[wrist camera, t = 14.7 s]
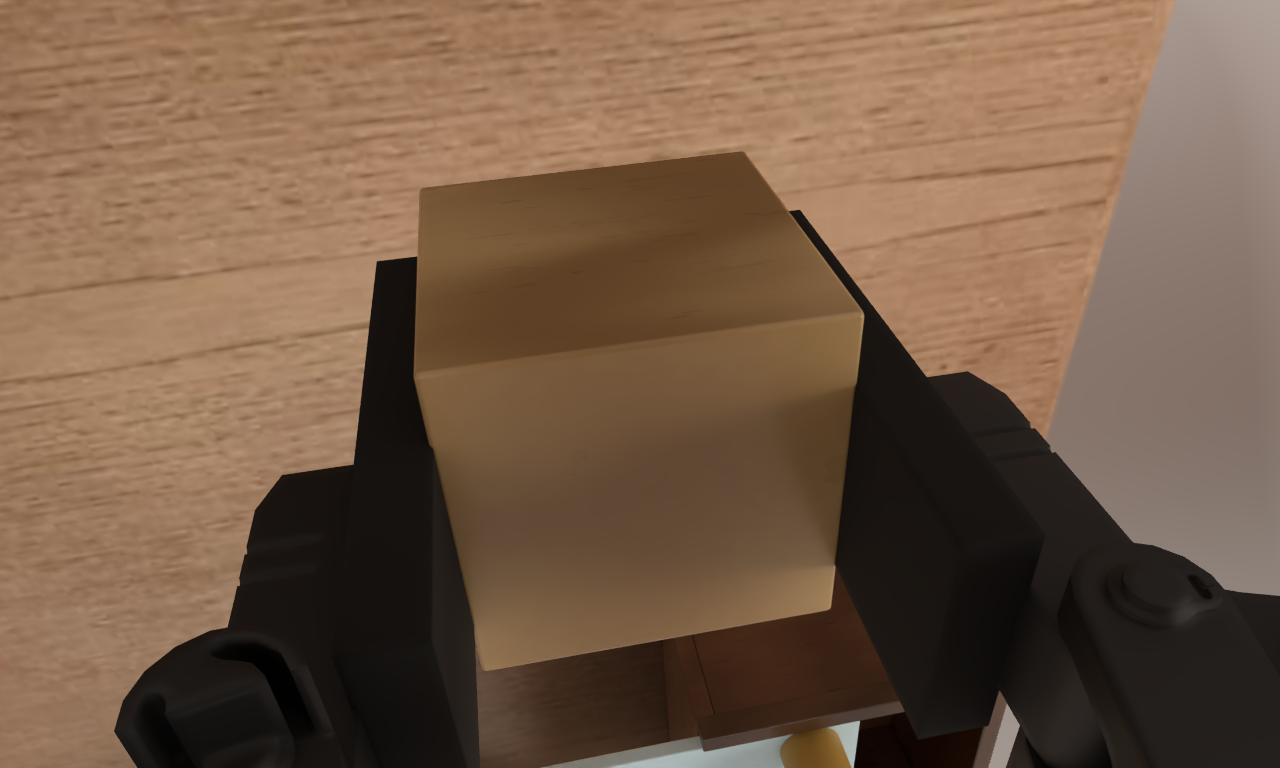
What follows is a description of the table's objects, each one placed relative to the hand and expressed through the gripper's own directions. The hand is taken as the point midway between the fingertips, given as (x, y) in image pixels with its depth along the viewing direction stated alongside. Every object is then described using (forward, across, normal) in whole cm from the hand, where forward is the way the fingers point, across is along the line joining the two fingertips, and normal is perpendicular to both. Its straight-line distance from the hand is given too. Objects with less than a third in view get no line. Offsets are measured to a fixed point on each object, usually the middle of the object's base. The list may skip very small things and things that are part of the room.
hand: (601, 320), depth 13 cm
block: (0, 0, 0) cm, 0 cm away
